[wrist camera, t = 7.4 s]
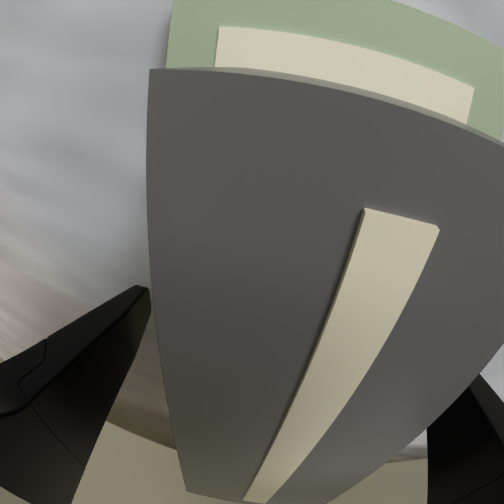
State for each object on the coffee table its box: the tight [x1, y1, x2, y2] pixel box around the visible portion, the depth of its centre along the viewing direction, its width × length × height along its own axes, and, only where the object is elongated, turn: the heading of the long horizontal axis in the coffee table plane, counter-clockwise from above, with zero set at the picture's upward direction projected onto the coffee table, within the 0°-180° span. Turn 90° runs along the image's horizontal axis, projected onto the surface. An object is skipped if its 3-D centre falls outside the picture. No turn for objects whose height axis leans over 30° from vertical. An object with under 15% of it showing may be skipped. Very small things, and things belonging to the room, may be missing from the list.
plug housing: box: [146, 67, 504, 504], centre depth 8 cm, size 5×13×5 cm, turn 173°
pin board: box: [166, 0, 504, 141], centre depth 9 cm, size 9×18×4 cm, turn 173°
